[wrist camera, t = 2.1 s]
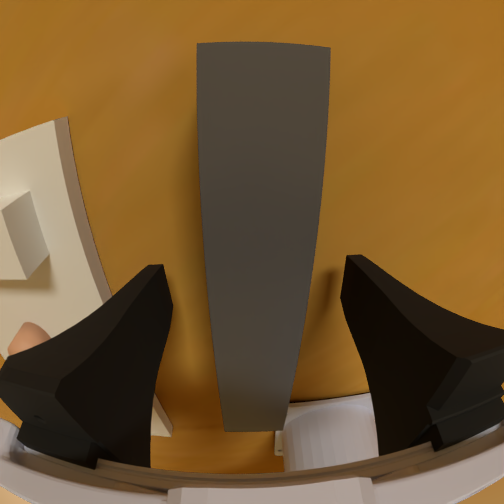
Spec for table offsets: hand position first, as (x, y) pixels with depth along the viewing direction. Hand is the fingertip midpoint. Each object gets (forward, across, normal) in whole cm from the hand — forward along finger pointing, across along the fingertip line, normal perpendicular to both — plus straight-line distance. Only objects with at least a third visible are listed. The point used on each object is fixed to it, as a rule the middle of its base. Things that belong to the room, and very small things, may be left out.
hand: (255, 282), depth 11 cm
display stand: (+1, +13, +4) cm, 14 cm away
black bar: (+2, 0, 0) cm, 2 cm away
